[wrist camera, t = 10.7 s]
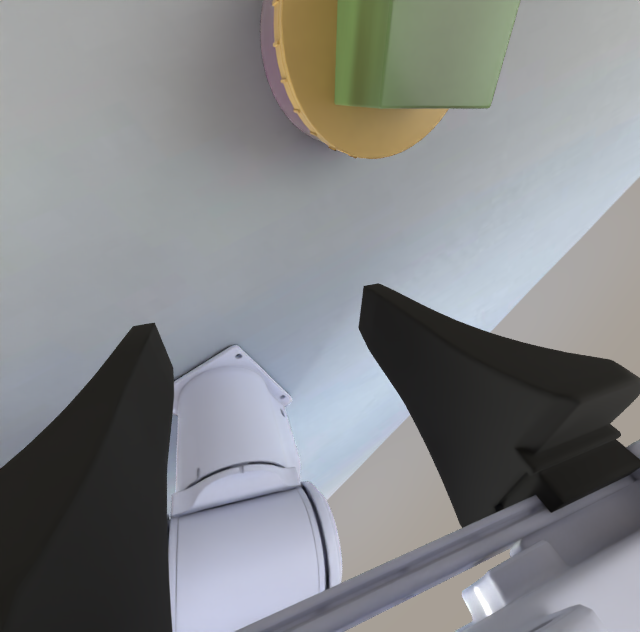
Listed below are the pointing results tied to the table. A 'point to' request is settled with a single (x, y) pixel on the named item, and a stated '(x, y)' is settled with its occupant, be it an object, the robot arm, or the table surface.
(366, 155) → the lid
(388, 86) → the block
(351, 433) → the table surface
